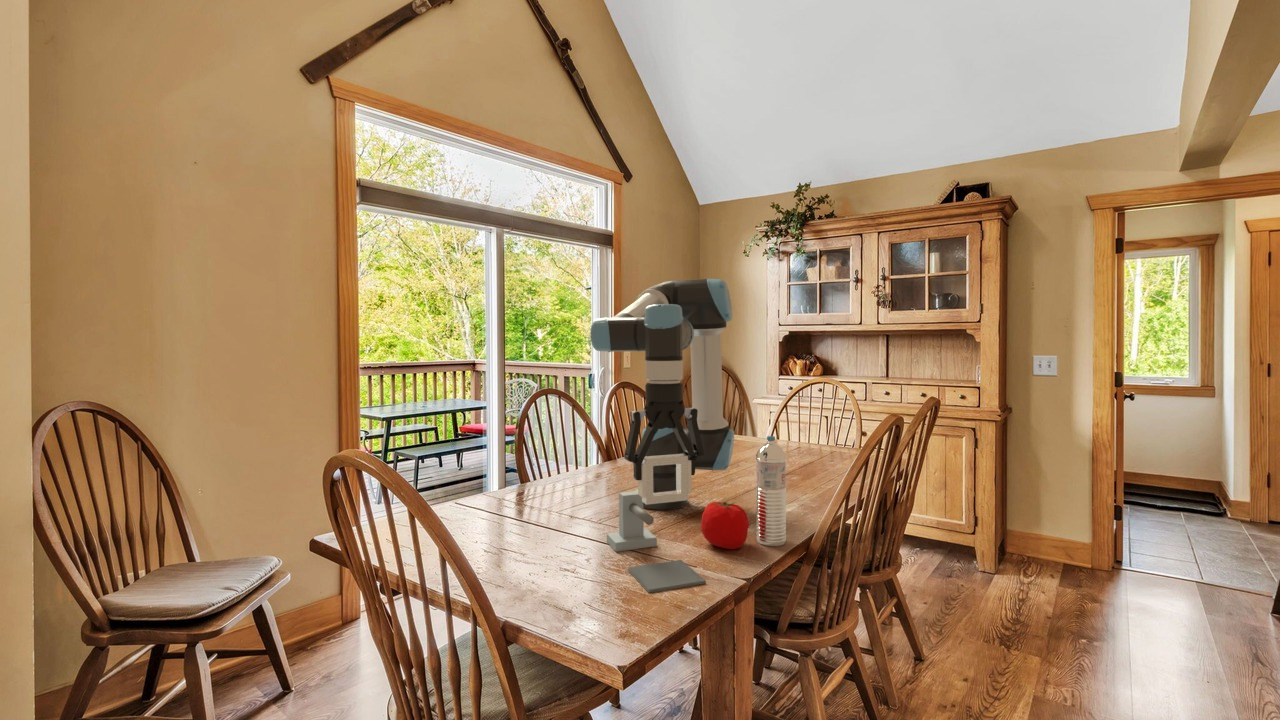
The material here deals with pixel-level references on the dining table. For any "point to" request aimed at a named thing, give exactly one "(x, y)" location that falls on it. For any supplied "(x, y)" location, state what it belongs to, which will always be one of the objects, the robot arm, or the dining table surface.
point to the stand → (632, 524)
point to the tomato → (725, 525)
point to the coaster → (666, 576)
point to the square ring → (681, 478)
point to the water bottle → (771, 494)
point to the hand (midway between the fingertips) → (664, 493)
